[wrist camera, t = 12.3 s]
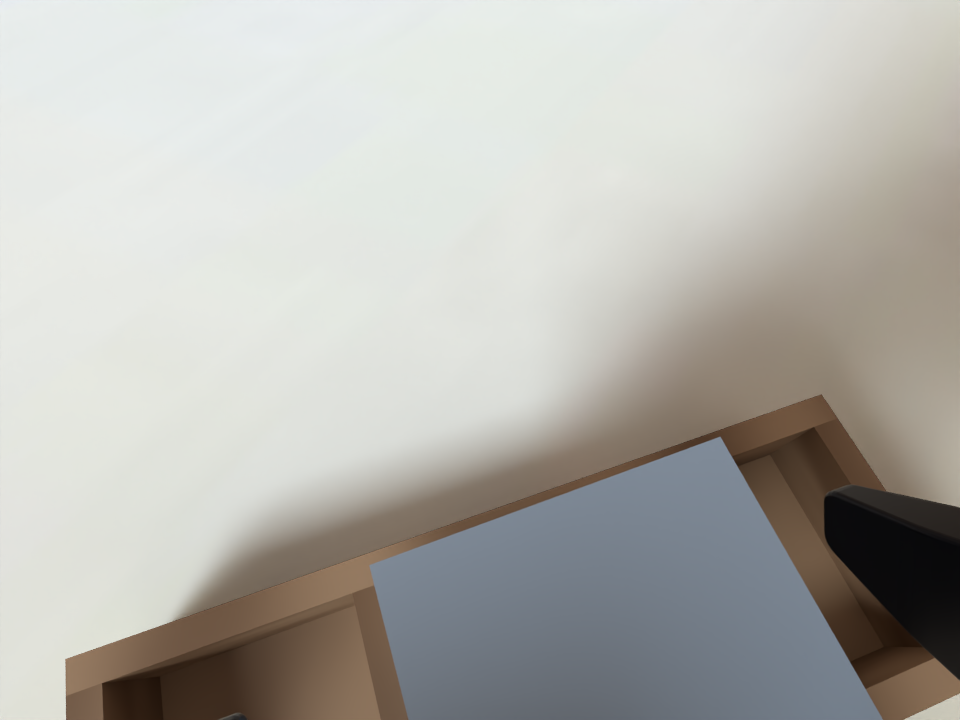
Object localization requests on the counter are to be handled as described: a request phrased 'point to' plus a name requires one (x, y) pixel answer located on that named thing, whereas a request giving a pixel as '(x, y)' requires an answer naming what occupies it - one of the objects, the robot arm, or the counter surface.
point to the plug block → (618, 609)
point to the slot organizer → (349, 585)
